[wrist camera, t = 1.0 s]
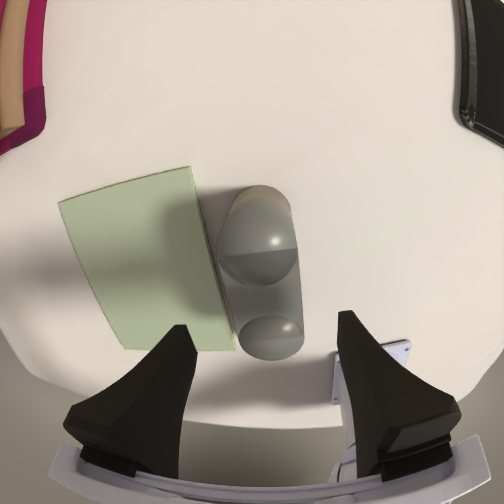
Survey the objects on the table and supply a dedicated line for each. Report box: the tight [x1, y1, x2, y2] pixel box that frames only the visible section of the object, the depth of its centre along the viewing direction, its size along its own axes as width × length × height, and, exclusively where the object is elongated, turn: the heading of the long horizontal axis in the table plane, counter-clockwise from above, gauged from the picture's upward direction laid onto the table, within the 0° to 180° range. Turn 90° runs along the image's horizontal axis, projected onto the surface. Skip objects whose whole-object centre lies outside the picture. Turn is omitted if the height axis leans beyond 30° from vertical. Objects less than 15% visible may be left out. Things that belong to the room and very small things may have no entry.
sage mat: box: [59, 166, 236, 351], centre depth 21 cm, size 16×12×1 cm
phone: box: [458, 0, 504, 147], centre depth 10 cm, size 8×1×15 cm
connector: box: [216, 185, 304, 361], centre depth 18 cm, size 12×4×6 cm, turn 9°
